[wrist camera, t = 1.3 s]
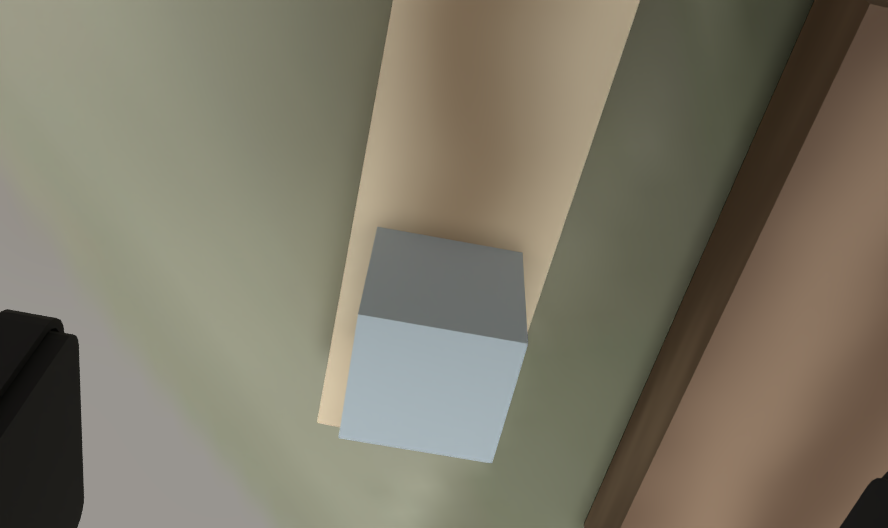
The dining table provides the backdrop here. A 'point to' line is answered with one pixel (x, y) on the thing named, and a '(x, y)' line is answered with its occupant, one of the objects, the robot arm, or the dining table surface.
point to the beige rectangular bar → (478, 136)
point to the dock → (779, 314)
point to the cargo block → (436, 346)
